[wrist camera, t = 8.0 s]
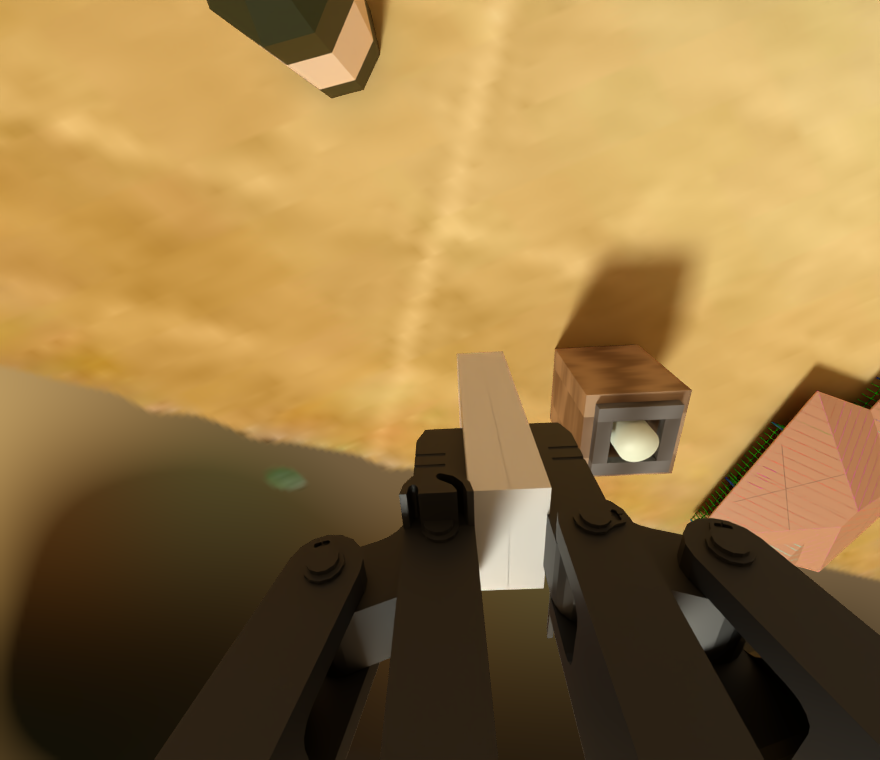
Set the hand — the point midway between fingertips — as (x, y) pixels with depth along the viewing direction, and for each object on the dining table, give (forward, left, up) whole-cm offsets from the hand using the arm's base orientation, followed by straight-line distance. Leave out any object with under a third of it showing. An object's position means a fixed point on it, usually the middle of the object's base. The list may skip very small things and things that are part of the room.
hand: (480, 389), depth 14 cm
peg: (-17, +18, -33) cm, 41 cm away
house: (-49, +35, -35) cm, 70 cm away
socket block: (-17, +18, -34) cm, 42 cm away
